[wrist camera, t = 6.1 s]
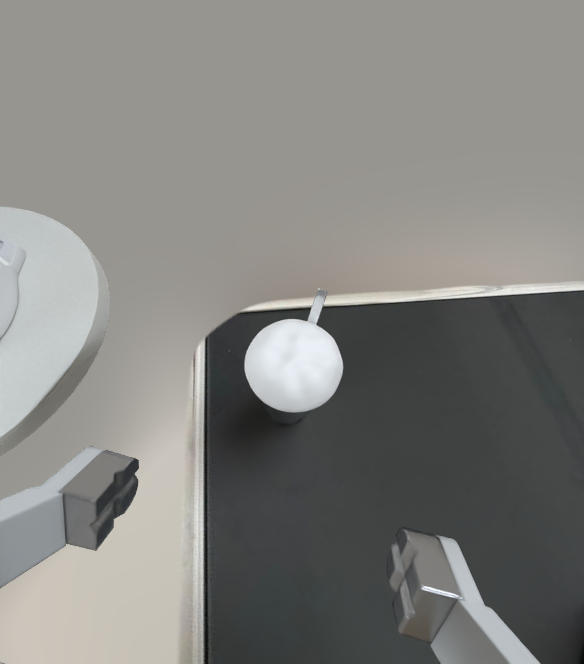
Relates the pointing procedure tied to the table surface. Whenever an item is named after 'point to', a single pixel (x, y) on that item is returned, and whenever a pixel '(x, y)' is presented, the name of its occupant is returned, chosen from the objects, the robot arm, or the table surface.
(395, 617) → the robot arm
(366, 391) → the table surface
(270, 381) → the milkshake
